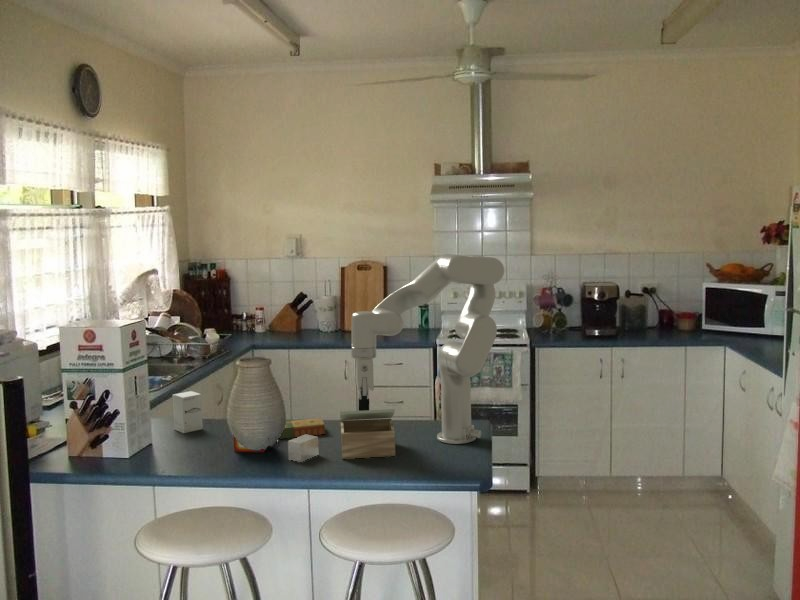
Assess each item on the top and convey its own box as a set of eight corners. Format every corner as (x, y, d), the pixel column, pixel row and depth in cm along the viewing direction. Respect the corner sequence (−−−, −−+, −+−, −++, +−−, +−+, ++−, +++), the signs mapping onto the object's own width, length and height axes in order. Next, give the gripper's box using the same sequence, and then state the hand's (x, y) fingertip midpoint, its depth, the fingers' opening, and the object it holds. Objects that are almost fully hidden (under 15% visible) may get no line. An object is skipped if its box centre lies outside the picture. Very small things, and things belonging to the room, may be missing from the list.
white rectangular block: (318, 455, 240) (318, 436, 239) (301, 463, 233) (300, 443, 232) (306, 453, 242) (305, 434, 242) (288, 460, 236) (287, 440, 235)
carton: (325, 436, 261) (324, 423, 260) (276, 440, 257) (276, 428, 256) (321, 429, 269) (321, 416, 268) (274, 433, 265) (274, 421, 264)
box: (395, 456, 236) (394, 431, 235) (342, 459, 235) (341, 433, 234) (391, 443, 250) (391, 418, 249) (341, 445, 249) (340, 420, 248)
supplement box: (183, 434, 266) (181, 397, 264) (173, 429, 271) (171, 394, 270) (203, 429, 271) (201, 393, 269) (193, 425, 276) (191, 390, 274)
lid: (394, 411, 236) (394, 409, 236) (340, 414, 234) (339, 411, 234) (391, 418, 249) (391, 415, 250) (340, 420, 248) (340, 417, 248)
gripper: (377, 356, 230) (377, 417, 232) (374, 347, 245) (374, 405, 247) (352, 357, 230) (352, 418, 232) (350, 348, 245) (350, 405, 247)
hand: (363, 411), depth 240 cm, fingers closed
